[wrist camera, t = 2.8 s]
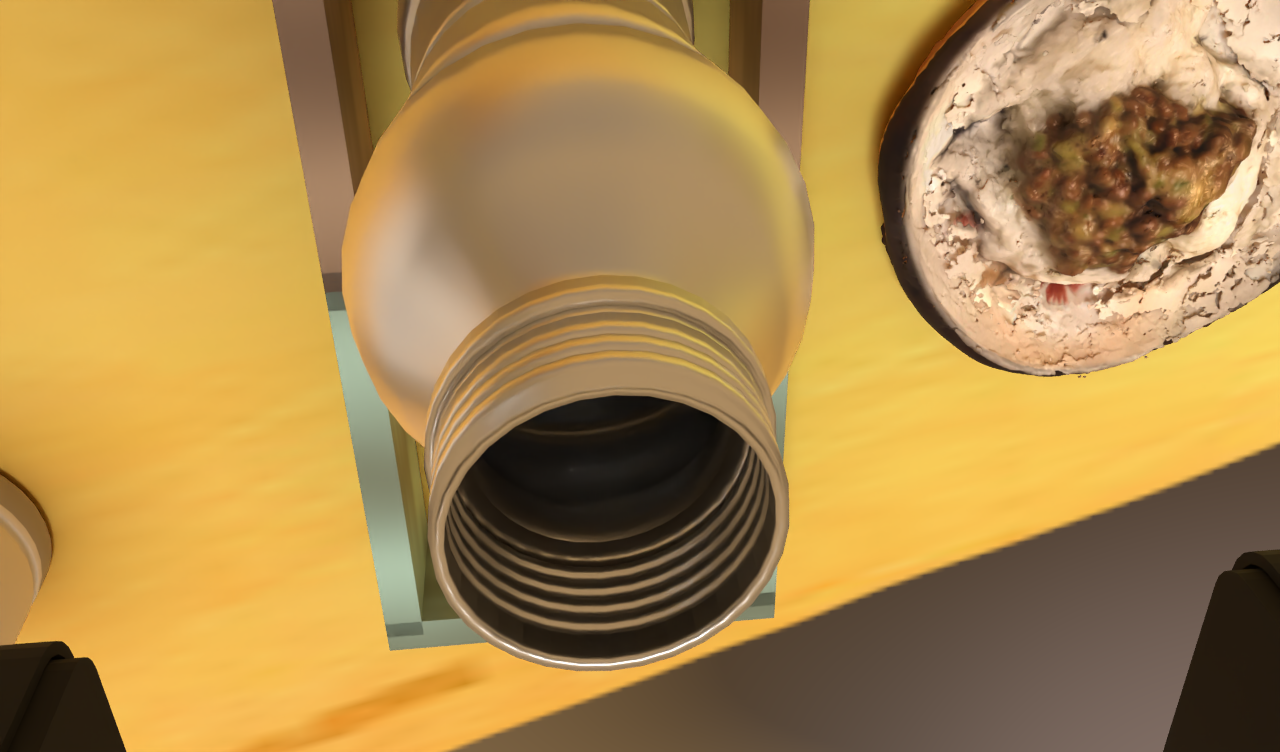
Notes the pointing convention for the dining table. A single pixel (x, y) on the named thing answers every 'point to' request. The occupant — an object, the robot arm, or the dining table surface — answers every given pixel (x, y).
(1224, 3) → the sushi roll
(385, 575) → the dock
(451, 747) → the dining table surface
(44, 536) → the travel mug
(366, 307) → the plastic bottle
